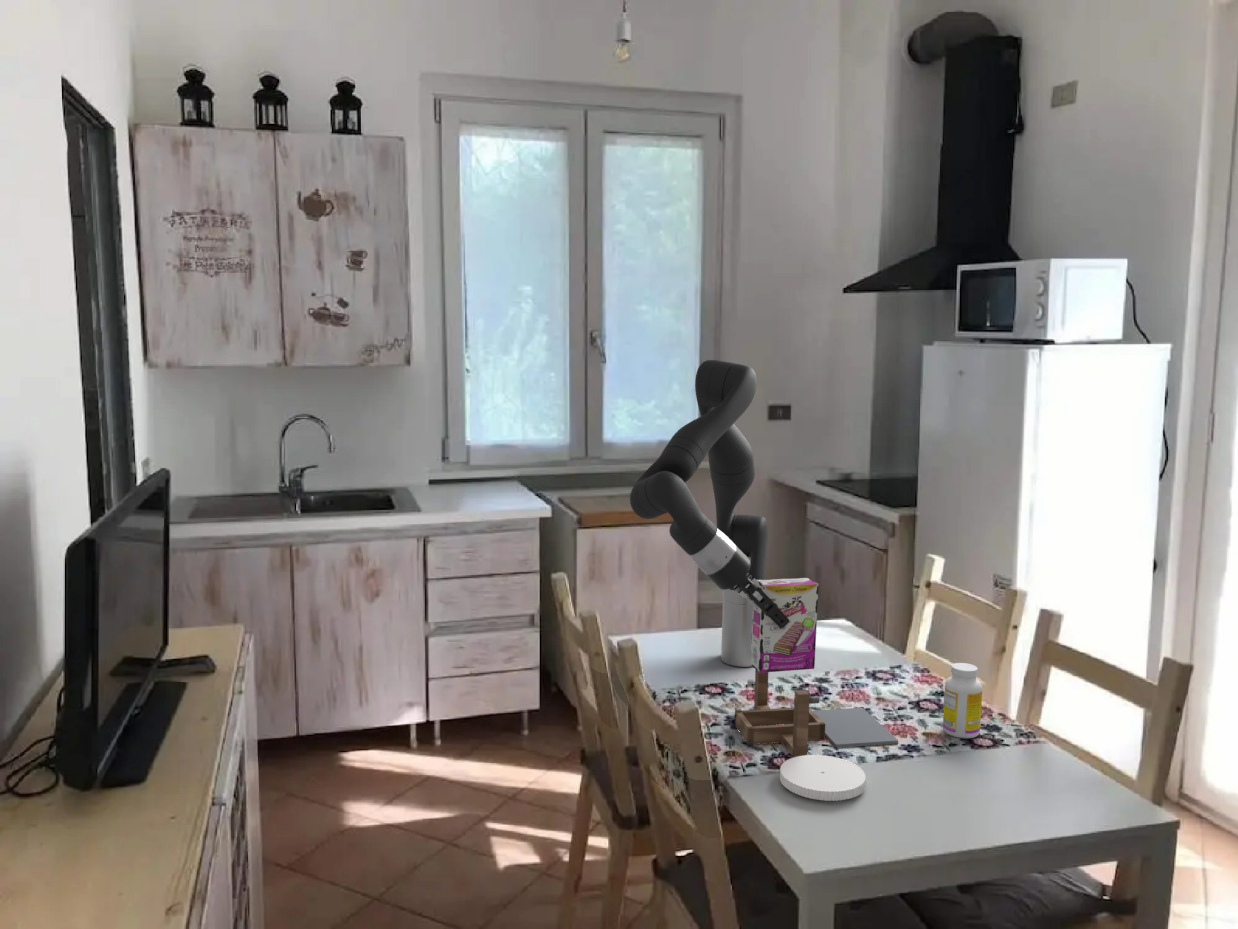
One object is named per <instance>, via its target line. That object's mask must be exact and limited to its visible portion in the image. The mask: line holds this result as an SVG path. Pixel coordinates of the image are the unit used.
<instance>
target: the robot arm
mask: <svg viewBox="0 0 1238 929" xmlns="http://www.w3.org/2000/svg"><path fill="white" fill-rule="evenodd" d="M697 368H698V369H697V371H696V374H695V381H694V383H695V384H694V387H695V389H694V391H695V398H696V401H697V406H698V409H699V414H700V416H699V417H697V418H695V419H694V420H692V421H689V422H688V423H686V424H685V425H683V426H682V427H680V428H679V429H678V430H677V431H676V432H675V433H674V434H673V435H672V437H671V438H670V440H669V441H668V442H667V444H666V446H665V447H664V449H663V450H662V452H661V454H660V455H659V457H658V458H657V459H656V460H655V461H654V462H653V463H652V464H651V465H650V466H649V467H647V470H646V471H644V472H643V473H642V475H640V476H639V478H638V479H637V480H636V482H635V483H634V484H633V486H632V488H631V491H630V495H629V502H630V508H631V509H632V511H633V512H634V514H636V515H637V516H638V517H639V518H642V519H645V520H646V519H647V520H649V519H650V520H651V519H656V518H657V517H661V516H663V515H665V514H669V515H670V517H671V518H672V519H673V521H672V522H671V524H670V526H669V534H670V537H671V538H672V540H674V542H675V543H676V544H677V545H678V546H679V547H680V548H681V549H682V550H683V551H684V552H685V554H687V555H688V556H689V557H690V558H691V560H692V561H693V562H694V564H695V565H696V566H697V567H698V568H699V569H700V570H701V571H702V572H703V573H704V574H705V575H706V577H708V578H709V579H710V580H711V581H712V582H713V583H714V584H715V585H716V586H717V587H718V589H720V590H722V618H721V621H722V624H721V647H720V649H721V650H720V651H721V653H720V656H721V657H720V660H721V662H723V663H724V664H726V665H730V666H734V667H740V668H741V667H742V668H743V667H744V668H748V667H752V666H751V639H752V614H753V606H754V607H755V608H760V609H761V610H762V611H763V612H764V614H765V615H766V616H768V617H770V618H771V619H772V620H773V621H774V622H775V623H776V624H777V625H778V626H779V627H780V628H784V627H785V626H786V625H787V624H788V623H789V619H788V618H787V617H786V616H785V615H784V614H783V613H782V612H781V611H780V610H779V609H778V605H777V604H776V603H774V602H773V601H772V600H771V599H770V598H769V594H768V593H767V592H766V591H765V590H764V589H763V588H762V587H761V586H760V585H759V582H758V581H757V580H766V566H767V562H766V561H767V551H768V550H767V549H768V542H769V523H768V522H767V519H766V518H765V517H764V516H761V515H753V514H752V515H751V514H750V515H749V514H737V513H734V512H733V511H734V509H735V507H736V505H737V504H738V503H739V502H740V500H741V499H742V498H743V497H744V496H745V494H746V493H747V492H748V491H749V489H750V488H751V486H752V485H753V482H754V480H755V476H756V470H755V460H754V454H753V453H754V452H753V449H752V447H751V444H750V443H749V441H748V440H747V439H746V437H745V435H744V434H743V433H742V432H741V430H740V428H738V427H737V426H736V424H735V423H736V421H738V420H739V419H740V417H741V416H742V415H743V414H744V413H745V412H746V411H747V410H748V408H749V407H750V405H751V404H752V402H753V401H754V398H755V395H756V392H757V391H756V390H757V375H756V372H755V370H754V369H753V368H752V367H750V366H748V365H745V364H740V363H735V362H729V361H724V360H717V359H707V360H704V361H702V362H701V363H700V365H699V366H698V367H697ZM707 455H708V456H707ZM706 456H707V458H708V465H709V472H710V478H711V483H712V489H713V494H714V495H713V497H714V503H715V516H716V519H715V521H716V525H715V524H714V523H713V522H712V521H711V520H710V519H709V518H708V517H707V516H706V515H705V514H704V513H703V512H702V510H701V509H700V507H699V505H698V503H697V501H696V499H695V498H694V496H693V494H692V493H691V490H690V488H689V487H688V485H687V484H686V482H688V481H690V480H691V478H692V477H693V476H694V475H695V473H696V472H697V471H698V469H699V467H700V466H701V464H702V462H703V461H704V459H705V458H706ZM756 586H757V587H758V588H757V587H756ZM753 601H754V602H755V603H754V602H753ZM768 603H770V605H769V606H768V607H767V608H766V609H764V607H765V606H766V605H767V604H768Z"/></svg>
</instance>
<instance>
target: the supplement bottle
mask: <svg viewBox="0 0 1238 929" xmlns="http://www.w3.org/2000/svg"><path fill="white" fill-rule="evenodd" d="M950 668H951V669H950V672H951V676H949V677H947V679H946V680H945V682H944V697H943V715H942V716H943V717H942V729H943V731H944V732H945V734H947V735H949V736H951V737H954V738H960V739H973V738H976V737H978V736H979V735H980V732H981V721H982V720H981V718H982V701H983V700H982V699H983V685H982V683H981V682H980V681H979V679H977V676H978V675H979V674H978V673H979V671H978V670H979V669H978V666H976V665H974V664H971V663H967V662H966V663H965V662H955V663H952V664H951V667H950Z"/></svg>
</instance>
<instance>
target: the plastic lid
mask: <svg viewBox="0 0 1238 929" xmlns="http://www.w3.org/2000/svg"><path fill="white" fill-rule="evenodd" d="M779 780H780V783H781V785H783V787H785V789H787V790H789V792H792V794H796V795H798V796H801V797H804V798H806V799H807V798H809V799H812V800H817V801H818V800H819V801H826V802H827V801H828V802H830V801H833V802H835V801H836V802H837V801H843V800H844V801H845V800H849V799H851V800H852V798H853V799H855V797H856V798H857V797H858V796H860V795H862V793H863V792H864V791H865V789H866V786H867V775H866V772H865V771H864V770H863V769H862V768H861V767H860V766H859V765H857V764H855V763H854V762H851V761H849V760H846V759H843V758H839V757H836V756H831V755H824V754H823V755H821V754H807V755H805V756H803V755H802V756H798V757H795V758H794V757H793V756H792V757H791V758H788V759H787V760H785V761H784V762H782V764H781V765H780V767H779Z"/></svg>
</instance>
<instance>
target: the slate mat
mask: <svg viewBox="0 0 1238 929" xmlns="http://www.w3.org/2000/svg"><path fill="white" fill-rule="evenodd" d="M812 711H813V712H814V713H815V714H816V715H817V716H818V717H819V718H820V719H821V720H822V721H823V722H824V723H825V739H828V741H829V742H830V743H831V744H832V745H833V747H835V748H836V749H837V748H853V747H863V746H864V747H865V746H866V747H867V746H869V747H870V746H881V745H883V746H885V745H895V744H899V740H898V739H897V738H896V736H894V735H893V734H892V733H891V732H890V731H889V730H888V729H887V728H885V726H883V725H882V724H881V722H879V721H878V720H877V719H876V718H874V717H873V716H872V715H871V714H870V713H869V712H868V711H867V710H866V709H865V708H864V707H853V708H852V707H851V708H836V709H835V708H834V709H817V710H815V709H814V710H812Z"/></svg>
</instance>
